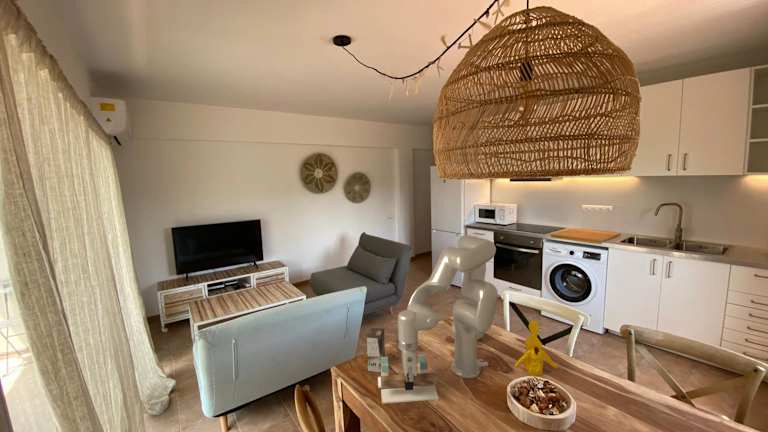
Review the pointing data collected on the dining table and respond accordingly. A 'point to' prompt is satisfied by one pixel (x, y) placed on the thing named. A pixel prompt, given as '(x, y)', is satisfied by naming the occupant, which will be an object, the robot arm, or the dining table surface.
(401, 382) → the rail
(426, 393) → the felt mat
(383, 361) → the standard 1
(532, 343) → the figure statuette
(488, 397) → the dining table surface
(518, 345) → the dining table surface
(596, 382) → the dining table surface
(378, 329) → the coffee box
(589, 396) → the dining table surface
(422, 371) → the toy blocks
